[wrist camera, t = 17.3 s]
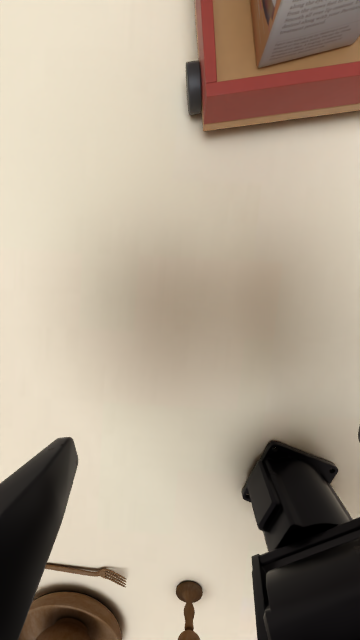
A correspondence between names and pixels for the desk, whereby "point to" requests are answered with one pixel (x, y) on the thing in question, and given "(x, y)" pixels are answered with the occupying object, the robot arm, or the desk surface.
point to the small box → (302, 27)
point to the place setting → (91, 613)
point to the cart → (262, 74)
